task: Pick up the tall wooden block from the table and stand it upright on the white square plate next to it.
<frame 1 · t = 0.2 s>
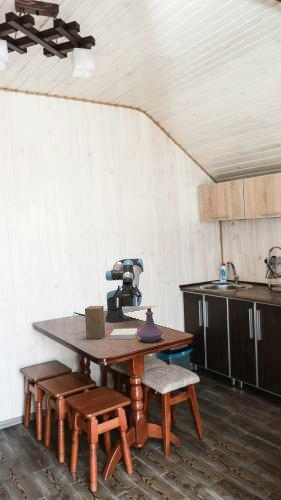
hand: (127, 306, 306), 16 cm above the table, tool tilted 35°, fingers open, 13 cm apart
wooden block: (95, 337, 288), on the table
coffee pot: (88, 331, 304), on the table
flask: (150, 340, 273), on the table
white square plate: (124, 336, 286), on the table
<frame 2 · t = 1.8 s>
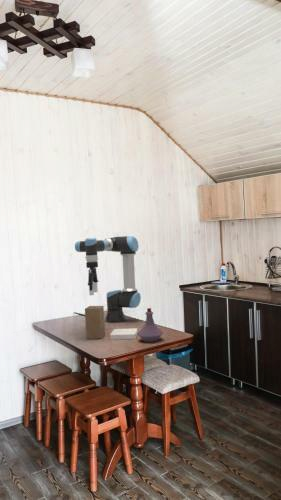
hand: (93, 293, 286), 29 cm above the table, tool pointing down, fingers open, 13 cm apart
nothing on the table moved.
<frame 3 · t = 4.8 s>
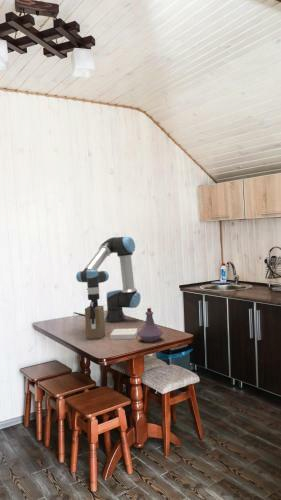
hand: (95, 326, 287), 7 cm above the table, tool pointing down, fingers closed on wooden block, 10 cm apart
wooden block: (95, 337, 288), on the table, touching gripper
everything else where it was.
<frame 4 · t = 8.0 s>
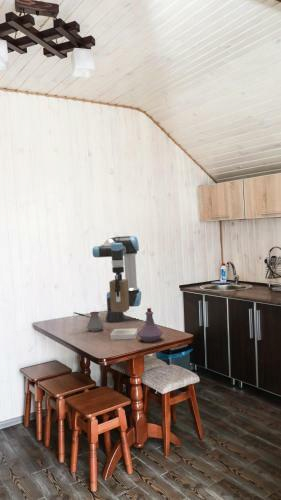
hand: (119, 300, 285), 24 cm above the table, tool pointing down, fingers closed on wooden block, 10 cm apart
wooden block: (120, 310, 285), point 17 cm above the table, touching gripper
everything else where it was.
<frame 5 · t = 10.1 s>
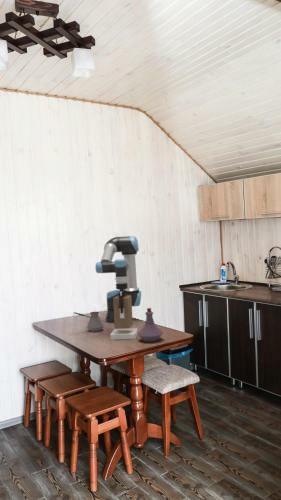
hand: (123, 316, 285), 13 cm above the table, tool pointing down, fingers closed on wooden block, 10 cm apart
wooden block: (123, 327, 286), point 6 cm above the table, touching gripper
everything else where it was.
when the fingers open (11 cm above the table, at t = 11.6 s): wooden block stays where it is, resting on white square plate.
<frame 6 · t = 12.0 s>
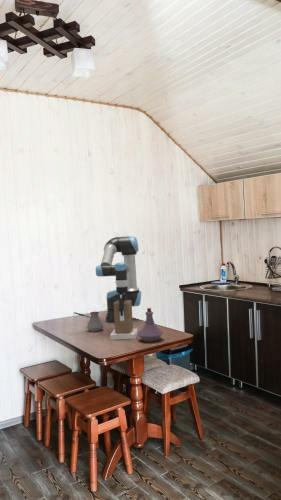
hand: (123, 318, 286), 12 cm above the table, tool pointing down, fingers open, 13 cm apart
wooden block: (124, 331, 286), point 3 cm above the table, touching white square plate
everything else where it was.
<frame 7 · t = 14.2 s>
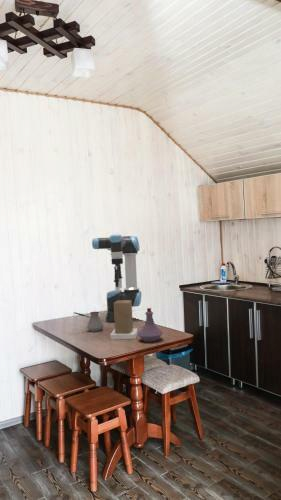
hand: (118, 290, 288), 30 cm above the table, tool pointing down, fingers open, 13 cm apart
nothing on the table moved.
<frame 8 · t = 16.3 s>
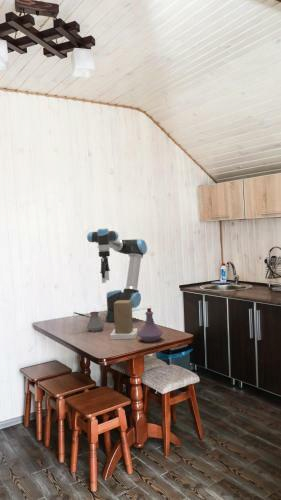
hand: (105, 281, 300), 35 cm above the table, tool pointing down, fingers open, 13 cm apart
nothing on the table moved.
at the end: wooden block inside the target area on the white square plate (0.1 cm from its centre), point 2.8 cm above the white square plate's base; wooden block tilted 0°; the gripper is holding nothing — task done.
